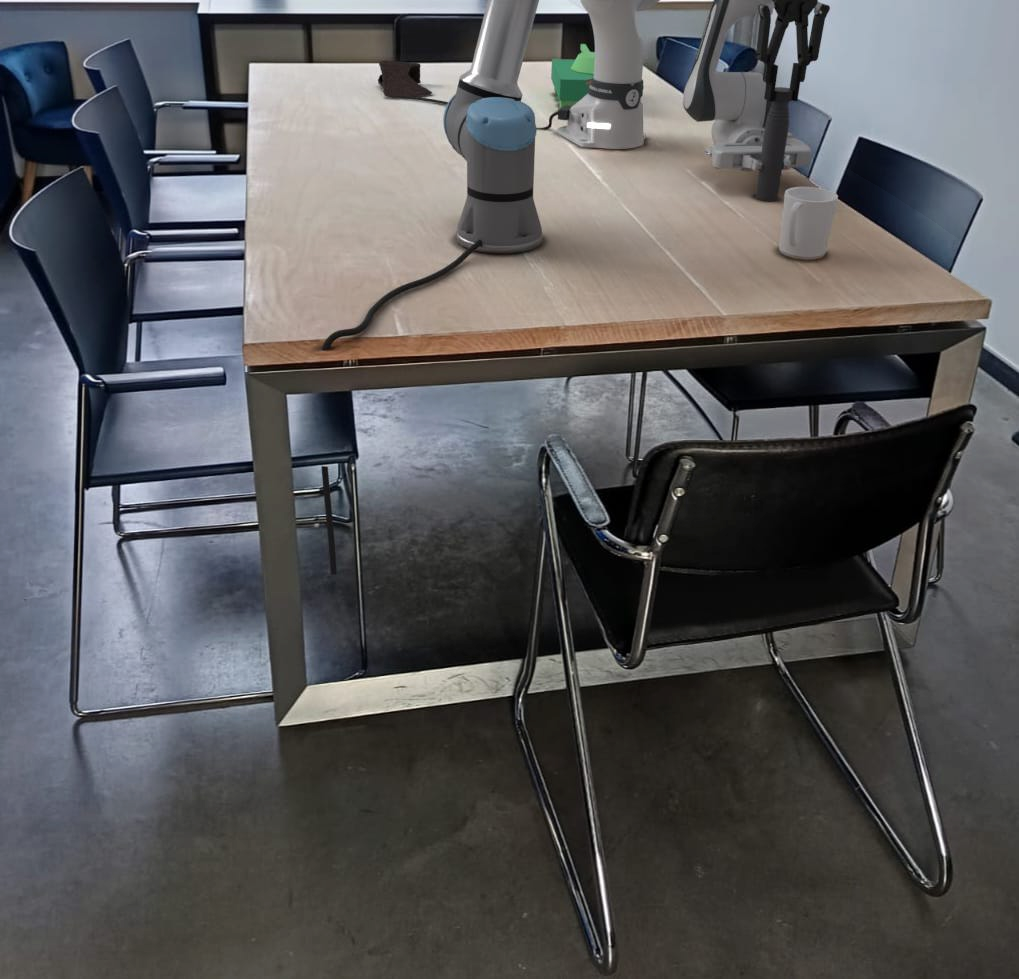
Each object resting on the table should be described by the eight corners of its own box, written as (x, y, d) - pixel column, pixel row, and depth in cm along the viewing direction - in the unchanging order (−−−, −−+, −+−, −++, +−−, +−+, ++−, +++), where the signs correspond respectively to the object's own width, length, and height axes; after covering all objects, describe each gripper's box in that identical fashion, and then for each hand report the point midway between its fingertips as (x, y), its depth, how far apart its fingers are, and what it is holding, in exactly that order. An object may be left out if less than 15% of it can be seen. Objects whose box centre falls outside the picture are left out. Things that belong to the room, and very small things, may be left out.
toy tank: (613, 40, 304) (631, 65, 274) (610, 86, 310) (627, 115, 281) (550, 39, 303) (561, 63, 273) (548, 85, 309) (558, 114, 280)
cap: (765, 97, 213) (766, 87, 212) (785, 96, 214) (786, 86, 213) (775, 102, 209) (777, 92, 208) (796, 101, 210) (797, 91, 209)
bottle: (752, 199, 221) (767, 94, 210) (758, 193, 224) (773, 89, 213) (774, 202, 219) (790, 96, 208) (780, 196, 222) (796, 92, 212)
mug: (790, 240, 199) (799, 183, 193) (836, 251, 194) (846, 193, 188) (761, 255, 191) (769, 197, 186) (808, 267, 186) (818, 208, 181)
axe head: (443, 87, 294) (392, 77, 287) (436, 115, 299) (385, 106, 292) (421, 62, 307) (371, 52, 300) (414, 89, 311) (365, 80, 304)
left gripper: (763, -31, 195) (745, 105, 207) (853, -31, 198) (830, 103, 210) (747, -36, 201) (731, 96, 213) (835, -36, 204) (814, 94, 216)
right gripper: (703, 133, 226) (724, 151, 214) (798, 132, 229) (823, 149, 217) (700, 164, 229) (720, 183, 218) (793, 162, 232) (818, 180, 220)
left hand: (780, 99), depth 211 cm, fingers closed on cap, 4 cm apart
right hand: (773, 166), depth 217 cm, fingers closed on bottle, 4 cm apart
